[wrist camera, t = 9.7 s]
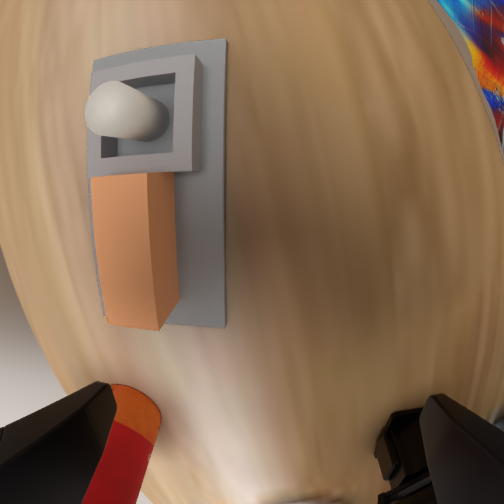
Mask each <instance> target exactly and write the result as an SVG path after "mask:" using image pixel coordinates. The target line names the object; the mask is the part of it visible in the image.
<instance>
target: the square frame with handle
mask: <svg viewBox="0 0 504 504" xmlns="http://www.w3.org/2000/svg"><path fill="white" fill-rule="evenodd" d="M203 66H204V65H203V64H202V63H201V61H200V60H199V58H198V57H197V56H196V54H190V55H181V56H173V57H166V58H159V59H153V60H147V61H141V62H136V63H131V64H126V65H121V66H117V67H112V68H108V69H104V70H100V71H96V72H92V74H91V84H90V95H91V94H92V92H93V91H94V90H95V89H96V88H97V87H98V86H100V85H101V84H103V83H105V82H108V81H119V82H122V83H124V84H126V85H128V86H130V87H132V88H141V87H147V86H154V85H162V84H170V83H175V95H174V123H173V152H171V153H155V154H142V155H130V156H119V157H117V148H118V138H117V137H109V136H102V135H97V134H95V133H93V132H92V131H91V130H90V129H89V128H88V130H87V177H91V200H92V216H93V228H94V239H95V248H96V256H97V264H98V272H99V279H100V285H101V291H102V297H103V303H104V308H105V314H106V319H107V324H110V325H117V326H124V327H132V328H139V329H147V330H156V331H159V330H160V329H161V327H162V326H163V324H164V323H165V321H166V320H167V318H168V317H169V315H170V314H171V312H172V311H173V309H174V308H175V306H176V305H177V303H178V302H179V301H180V295H179V282H178V267H177V249H176V227H175V192H174V172H177V171H201V123H202V89H203ZM90 95H89V97H90ZM96 176H98V177H96Z"/></svg>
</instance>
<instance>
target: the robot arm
mask: <svg viewBox="0 0 504 504" xmlns="http://www.w3.org/2000/svg"><path fill="white" fill-rule="evenodd" d="M116 412H117V403H116V400H115V397H114V394H113V391H112V388H111V386H110V385H109V384H108V383H104V382H100V381H96V382H94V383H92V384H90V385H88V386H86V387H84V388H82V389H80V390H78V391H76V392H74V393H72V394H70V395H68V396H66V397H64V398H62V399H60V400H59V401H56V402H54V403H52V404H50V405H48V406H46V407H44V408H42V409H40V410H38V411H36V412H34V413H32V414H30V415H27V416H25V417H23V418H21V419H19V420H17V421H15V422H13V423H11V424H8V425H6V426H5V427H2V428H0V504H82V502H83V499H84V497H85V494H86V492H87V490H88V487H89V485H90V482H91V480H92V478H93V475H94V473H95V471H96V469H97V466H98V464H99V462H100V459H101V457H102V455H103V452H104V449H105V447H106V443H107V440H108V437H109V434H110V430H111V427H112V424H113V421H114V418H115V415H116ZM374 456H375V458H378V461H379V465H380V468H381V472H382V476H383V479H384V480H385V481H388V480H389V482H390V486H391V490H390V491H388V492H385V493H384V492H383V493H381V494H379V495H378V503H377V504H504V431H502V430H500V429H499V428H497V427H496V426H494V425H492V424H491V423H489V422H488V421H486V420H484V419H483V418H481V417H480V416H478V415H476V414H475V413H473V412H472V411H470V410H468V409H467V408H465V407H464V406H462V405H460V404H459V403H457V402H456V401H454V400H453V399H451V398H449V397H448V396H446V395H445V394H443V393H439V394H433V395H430V396H429V397H428V399H427V401H426V403H425V406H424V408H422V409H416V410H410V411H403V412H396V413H394V414H392V415H391V417H390V419H389V421H388V424H387V426H386V428H385V431H384V432H383V434H382V435H381V438H380V440H379V442H378V444H377V446H376V448H375V452H374Z"/></svg>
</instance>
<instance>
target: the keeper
mask: <svg viewBox="0 0 504 504" xmlns="http://www.w3.org/2000/svg"><path fill="white" fill-rule="evenodd" d="M190 54H196V56H197V57H198V58H199V60H200V61H201V63H202V64H203V65H204V66H203V89H202V123H201V171H177V172H174V192H175V227H176V249H177V267H178V282H179V295H180V301H179V302H178V303H177V305H176V306H175V308H174V309H173V311H172V312H171V314H170V315H169V317H168V318H167V320H166V321H165V323H166V324H176V325H187V326H199V327H213V328H225V326H226V290H225V111H226V71H227V40H226V39H212V40H201V41H191V42H183V43H175V44H168V45H162V46H156V47H150V48H145V49H140V50H135V51H130V52H125V53H121V54H117V55H113V56H109V57H105V58H101V59H97V60H94V63H93V71H92V72H96V71H100V70H104V69H108V68H112V67H117V66H121V65H126V64H131V63H136V62H141V61H147V60H153V59H159V58H166V57H173V56H181V55H190ZM174 95H175V83H170V84H162V85H154V86H147V87H141V88H132V87H130V86H128V85H126V84H124V83H122V82H119V81H108V82H105V83H103V84H101V85H100V86H98V87H97V88H96V89H95V90H94V91H93V92H92V94H91V95H90V97H89V98H88V101H87V103H86V107H85V121H86V124H87V126H88V128H89V129H90V130H91V131H92V132H93V133H95V134H97V135H102V136H109V137H117V138H118V148H117V157H119V156H130V155H142V154H155V153H171V152H173V123H174ZM96 177H98V176H96ZM88 189H89V207H90V221H91V232H92V242H93V251H94V259H95V267H96V274H97V280H98V287H99V293H100V298H101V304H102V309H103V315H104V316H106V314H105V308H104V303H103V297H102V291H101V285H100V279H99V272H98V264H97V256H96V248H95V239H94V228H93V216H92V200H91V177H88Z"/></svg>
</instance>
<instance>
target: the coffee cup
mask: <svg viewBox="0 0 504 504" xmlns="http://www.w3.org/2000/svg"><path fill="white" fill-rule="evenodd" d="M110 386H111V388H112V391H113V394H114V397H115V400H116V403H117V412H116V415H115V418H114V421H113V424H112V427H111V430H110V434H109V437H108V440H107V443H106V447H105V449H104V452H103V455H102V457H101V459H100V462H99V464H98V466H97V469H96V471H95V473H94V475H93V478H92V480H91V482H90V485H89V487H88V490H87V492H86V494H85V497H84V499H83V502H82V504H136V501H137V498H138V495H139V491H140V489H141V485H142V482H143V479H144V476H145V473H146V469H147V466H148V463H149V460H150V457H151V454H152V450H153V447H154V444H155V441H156V438H157V434H158V431H159V428H160V424H161V414H160V411H159V409H158V407H157V406H156V405H155V403H154V402H153V401H152V400H151V399H150V398H148V397H147V396H146V395H145V394H143V393H142V392H140V391H138V390H136V389H134V388H132V387H129V386H125V385H119V384H116V385H110Z"/></svg>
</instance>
